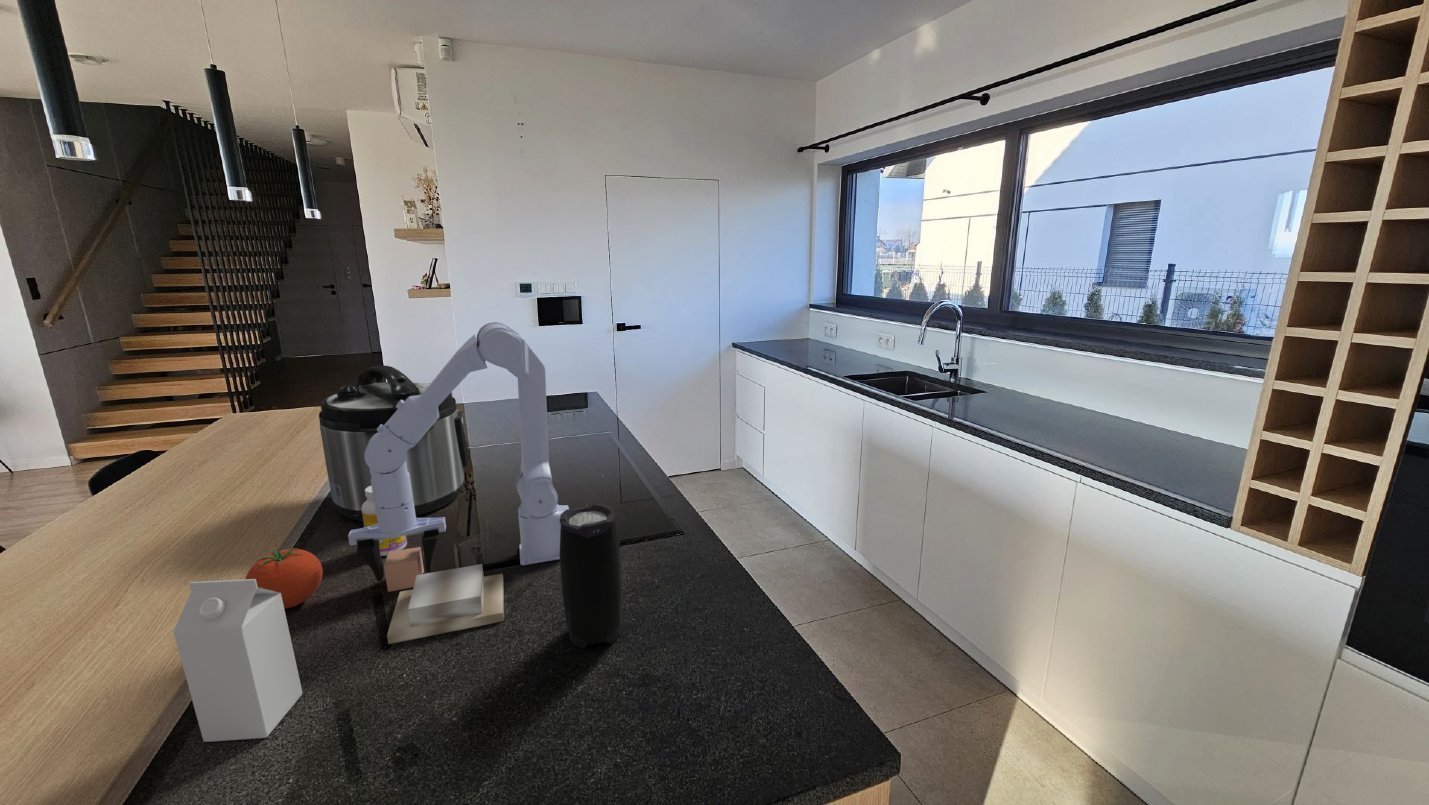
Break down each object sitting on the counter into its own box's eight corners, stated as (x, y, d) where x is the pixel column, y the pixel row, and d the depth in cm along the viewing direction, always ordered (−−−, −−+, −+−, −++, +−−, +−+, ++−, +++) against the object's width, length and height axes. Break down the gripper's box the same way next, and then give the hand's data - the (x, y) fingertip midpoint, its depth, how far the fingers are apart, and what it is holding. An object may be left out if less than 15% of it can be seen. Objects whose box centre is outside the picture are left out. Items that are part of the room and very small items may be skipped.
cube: (424, 571, 104) (420, 546, 103) (420, 586, 100) (416, 560, 99) (393, 577, 103) (388, 551, 101) (388, 592, 98) (383, 565, 97)
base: (503, 581, 101) (500, 558, 100) (503, 621, 90) (501, 595, 89) (401, 599, 96) (397, 575, 95) (388, 644, 85) (383, 617, 84)
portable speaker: (614, 609, 93) (608, 496, 88) (632, 643, 85) (627, 521, 80) (560, 623, 89) (551, 507, 84) (573, 661, 81) (564, 534, 76)
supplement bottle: (390, 559, 108) (380, 495, 105) (360, 556, 110) (349, 493, 107) (415, 542, 115) (406, 482, 112) (386, 539, 116) (376, 479, 113)
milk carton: (245, 698, 75) (212, 566, 70) (303, 694, 75) (275, 563, 70) (203, 743, 68) (163, 600, 63) (267, 739, 68) (233, 597, 64)
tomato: (319, 580, 102) (309, 528, 99) (334, 604, 95) (323, 549, 92) (246, 604, 95) (233, 549, 92) (255, 632, 88) (242, 573, 85)
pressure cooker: (458, 522, 123) (439, 377, 115) (309, 536, 118) (279, 384, 110) (481, 472, 152) (467, 352, 144) (362, 481, 146) (341, 357, 138)
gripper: (443, 487, 103) (452, 555, 107) (350, 498, 99) (363, 570, 102) (439, 502, 97) (449, 574, 100) (340, 515, 92) (353, 591, 96)
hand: (405, 573), depth 101 cm, fingers open, 7 cm apart
